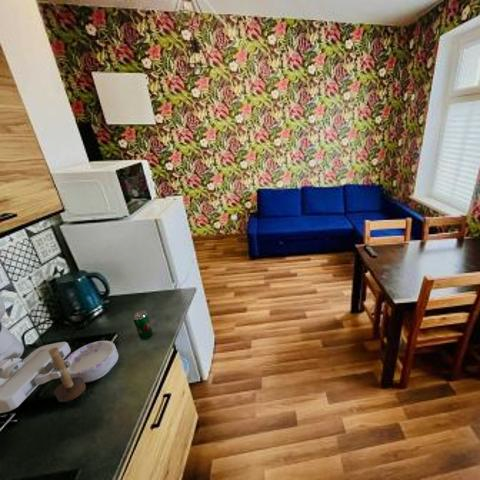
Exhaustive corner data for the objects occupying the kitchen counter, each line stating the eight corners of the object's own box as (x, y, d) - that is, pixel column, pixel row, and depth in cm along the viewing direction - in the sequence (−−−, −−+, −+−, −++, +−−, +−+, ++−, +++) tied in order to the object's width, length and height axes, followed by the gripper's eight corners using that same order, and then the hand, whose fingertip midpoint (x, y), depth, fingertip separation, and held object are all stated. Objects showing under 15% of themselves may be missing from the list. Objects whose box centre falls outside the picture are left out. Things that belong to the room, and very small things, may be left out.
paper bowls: (90, 394, 90) (82, 377, 87) (58, 383, 94) (49, 367, 91) (130, 360, 104) (125, 344, 101) (101, 351, 108) (95, 336, 105)
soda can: (138, 336, 116) (130, 314, 111) (151, 330, 119) (144, 308, 115) (141, 342, 113) (134, 319, 108) (155, 336, 116) (148, 313, 112)
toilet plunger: (53, 405, 71) (31, 361, 66) (63, 387, 76) (44, 345, 71) (80, 397, 73) (61, 354, 68) (89, 380, 78) (72, 339, 73)
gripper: (40, 357, 80) (92, 350, 82) (-30, 422, 61) (40, 411, 64) (32, 340, 78) (85, 333, 80) (-43, 402, 59) (29, 391, 61)
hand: (65, 368), depth 72 cm, fingers closed on toilet plunger
